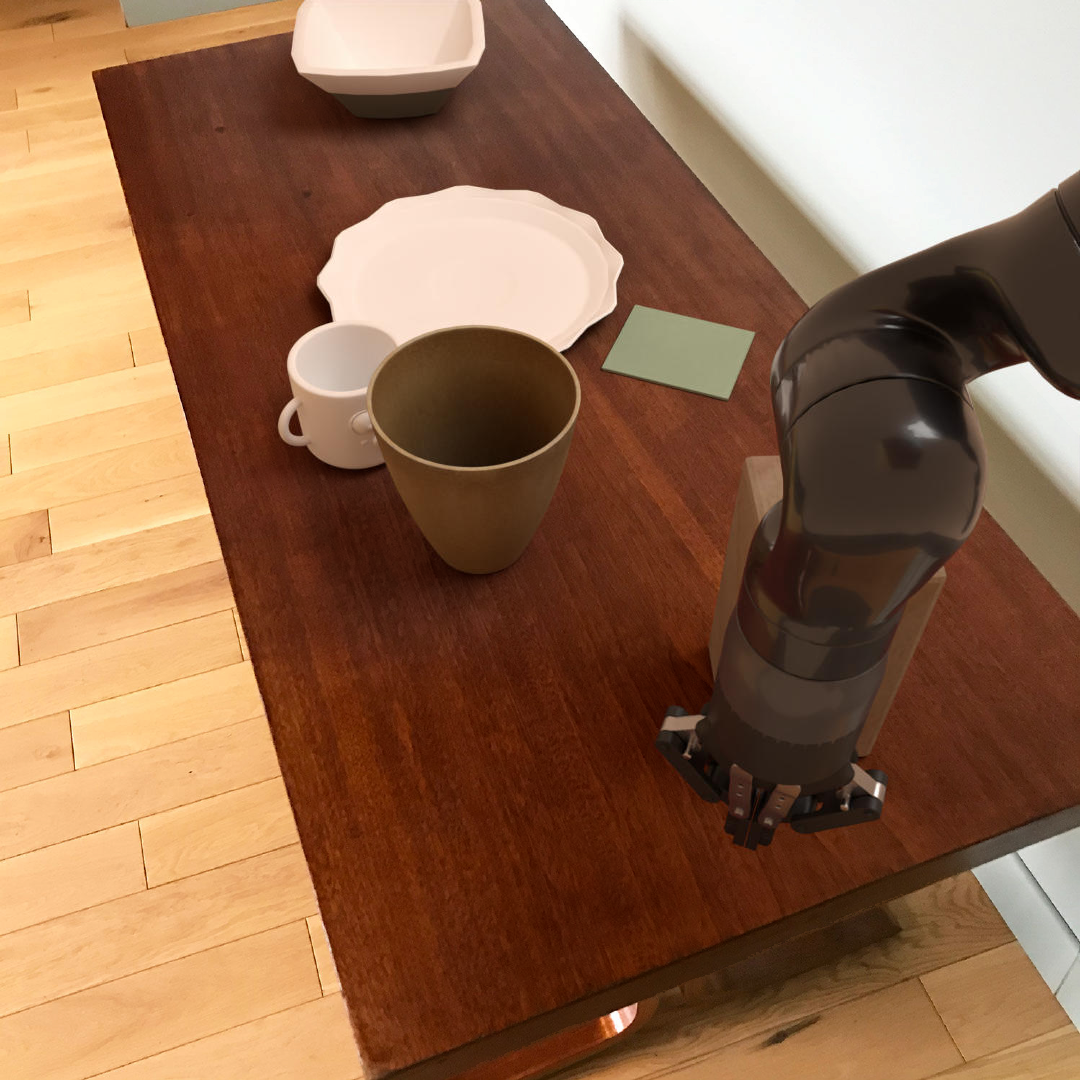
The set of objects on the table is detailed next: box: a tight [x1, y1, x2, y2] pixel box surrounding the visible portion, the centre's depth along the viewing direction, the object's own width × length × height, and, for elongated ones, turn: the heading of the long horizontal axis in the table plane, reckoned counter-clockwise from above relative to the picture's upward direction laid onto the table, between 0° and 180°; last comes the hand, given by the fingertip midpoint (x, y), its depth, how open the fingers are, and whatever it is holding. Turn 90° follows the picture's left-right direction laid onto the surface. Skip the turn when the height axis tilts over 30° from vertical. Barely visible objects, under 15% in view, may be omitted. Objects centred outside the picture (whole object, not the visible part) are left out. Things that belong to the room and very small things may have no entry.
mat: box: [601, 304, 756, 402], centre depth 104 cm, size 12×10×1 cm
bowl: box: [290, 0, 486, 119], centre depth 133 cm, size 22×23×8 cm
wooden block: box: [707, 455, 947, 758], centre depth 72 cm, size 10×10×20 cm
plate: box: [316, 185, 625, 354], centre depth 110 cm, size 29×29×2 cm
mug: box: [277, 320, 403, 470], centre depth 93 cm, size 12×10×9 cm
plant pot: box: [366, 325, 582, 575], centre depth 83 cm, size 15×15×16 cm
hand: (747, 834), depth 67 cm, fingers closed
